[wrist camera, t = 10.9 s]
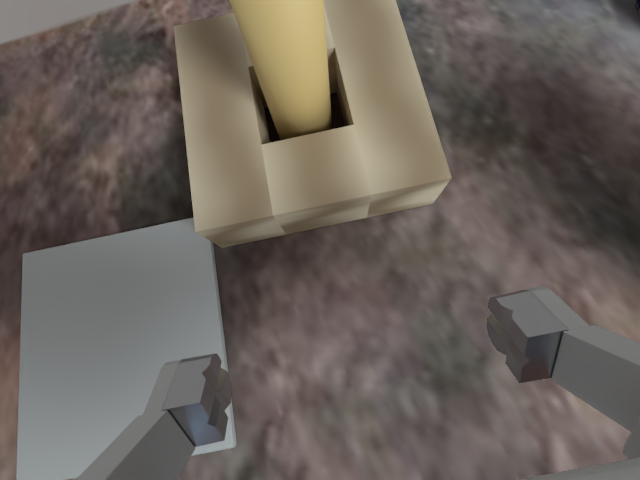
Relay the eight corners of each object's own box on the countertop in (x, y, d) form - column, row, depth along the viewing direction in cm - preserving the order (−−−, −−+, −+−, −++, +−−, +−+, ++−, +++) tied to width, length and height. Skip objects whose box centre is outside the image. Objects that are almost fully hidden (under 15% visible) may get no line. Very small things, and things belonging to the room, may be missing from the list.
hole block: (222, 247, 19) (195, 232, 15) (200, 72, 22) (173, 26, 18) (432, 204, 19) (451, 177, 15) (381, 31, 21) (388, -24, 18)
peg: (284, 163, 20) (213, -21, 9) (276, 116, 21) (201, -103, 10) (337, 151, 20) (328, -47, 9) (327, 105, 20) (306, -128, 10)
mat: (23, 485, 17) (16, 489, 16) (28, 254, 20) (22, 253, 19) (236, 444, 16) (234, 447, 16) (209, 216, 19) (207, 214, 19)
